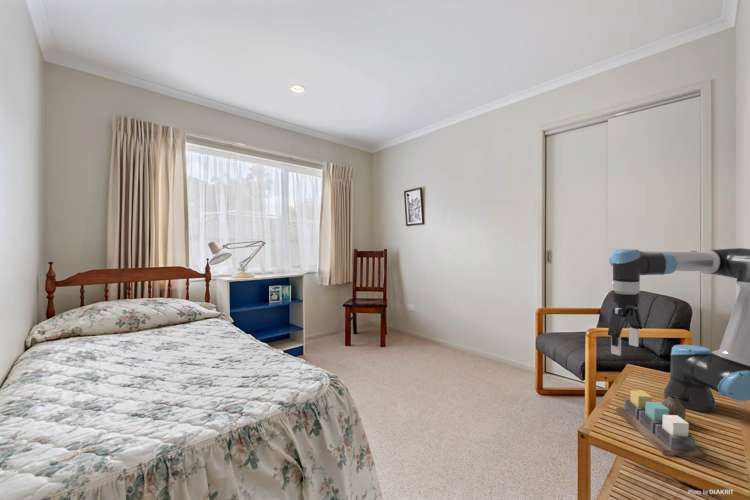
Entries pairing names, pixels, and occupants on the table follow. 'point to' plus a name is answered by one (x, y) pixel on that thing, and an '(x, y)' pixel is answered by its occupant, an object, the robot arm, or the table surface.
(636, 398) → the plunger ochre
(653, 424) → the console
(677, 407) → the vase
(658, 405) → the plunger teal
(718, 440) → the table surface
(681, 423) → the plunger cream
